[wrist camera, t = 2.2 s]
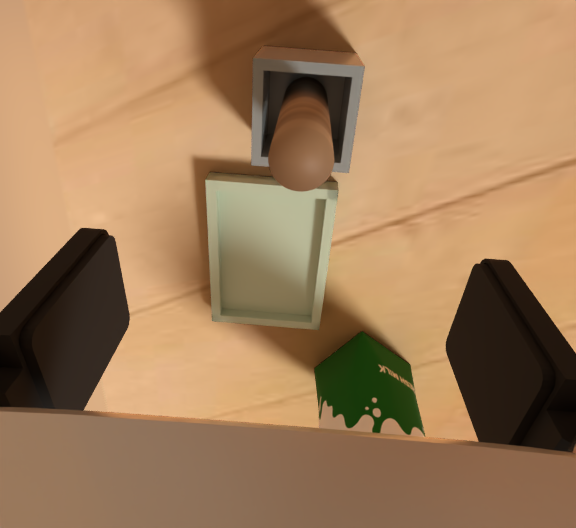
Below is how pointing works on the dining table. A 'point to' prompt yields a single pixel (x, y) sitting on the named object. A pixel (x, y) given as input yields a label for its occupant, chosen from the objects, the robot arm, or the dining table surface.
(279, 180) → the pin
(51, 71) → the dining table surface
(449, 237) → the dining table surface
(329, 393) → the milk carton
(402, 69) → the dining table surface
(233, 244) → the tray
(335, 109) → the grey square bin
